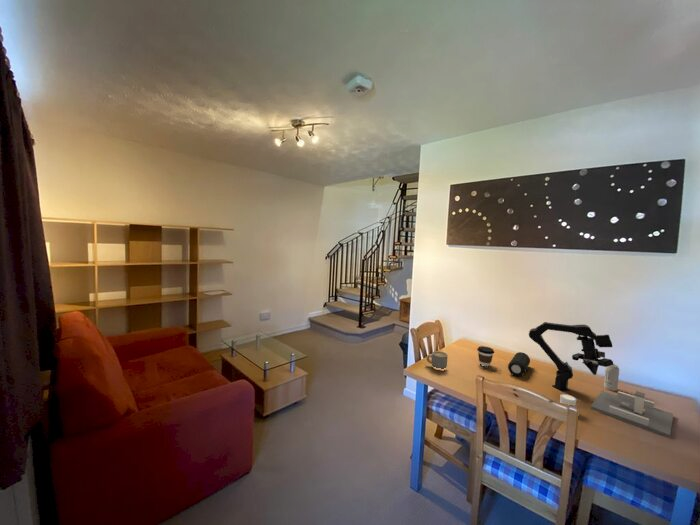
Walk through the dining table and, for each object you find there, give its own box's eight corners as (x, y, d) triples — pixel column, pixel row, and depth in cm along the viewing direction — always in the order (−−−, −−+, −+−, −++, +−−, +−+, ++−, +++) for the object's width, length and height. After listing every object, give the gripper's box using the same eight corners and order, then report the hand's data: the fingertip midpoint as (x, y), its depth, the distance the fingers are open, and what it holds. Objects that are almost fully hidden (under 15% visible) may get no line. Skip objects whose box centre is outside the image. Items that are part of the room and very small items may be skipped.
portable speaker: (514, 363, 208) (515, 349, 207) (530, 367, 202) (531, 353, 201) (506, 374, 189) (507, 360, 188) (523, 379, 182) (525, 364, 182)
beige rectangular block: (633, 411, 146) (635, 394, 146) (634, 408, 150) (636, 391, 149) (642, 414, 144) (644, 396, 143) (643, 411, 147) (645, 393, 146)
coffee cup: (483, 369, 195) (484, 352, 195) (472, 362, 206) (473, 346, 205) (496, 368, 198) (498, 351, 197) (485, 361, 209) (486, 345, 208)
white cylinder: (576, 415, 145) (577, 402, 144) (559, 410, 148) (560, 398, 148) (574, 409, 150) (575, 396, 150) (558, 404, 154) (559, 392, 153)
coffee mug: (448, 367, 196) (449, 353, 195) (443, 372, 188) (444, 358, 187) (430, 362, 204) (430, 348, 203) (424, 366, 196) (425, 352, 196)
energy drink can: (601, 386, 177) (603, 362, 176) (611, 386, 176) (613, 363, 175) (609, 391, 171) (612, 366, 170) (619, 391, 170) (622, 367, 169)
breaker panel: (590, 408, 151) (591, 400, 151) (601, 393, 168) (602, 385, 168) (669, 437, 129) (670, 428, 129) (673, 416, 146) (674, 408, 146)
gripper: (617, 347, 157) (624, 375, 156) (582, 341, 175) (588, 367, 174) (602, 351, 154) (609, 380, 153) (568, 345, 172) (574, 371, 171)
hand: (594, 374), depth 163 cm, fingers closed
